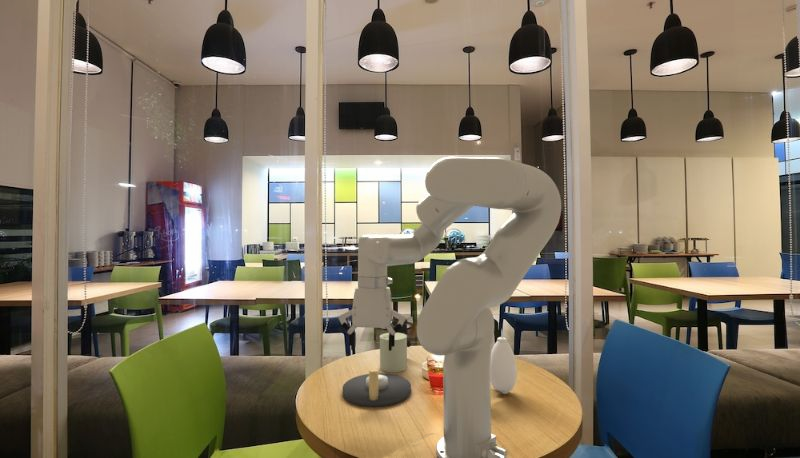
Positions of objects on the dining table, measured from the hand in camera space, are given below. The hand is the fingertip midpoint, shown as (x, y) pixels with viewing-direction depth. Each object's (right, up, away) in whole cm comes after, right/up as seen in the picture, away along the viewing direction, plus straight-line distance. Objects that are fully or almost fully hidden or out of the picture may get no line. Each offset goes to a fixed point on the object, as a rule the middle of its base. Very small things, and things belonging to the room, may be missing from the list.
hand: (371, 348), depth 96 cm
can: (+5, -16, +26) cm, 31 cm away
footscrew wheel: (+1, -14, +7) cm, 16 cm away
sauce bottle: (+36, -16, +9) cm, 40 cm away
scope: (+6, -16, +40) cm, 43 cm away
